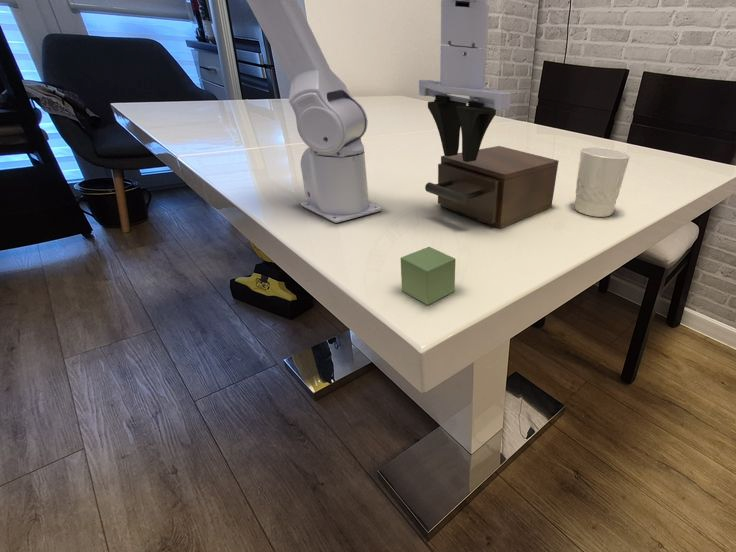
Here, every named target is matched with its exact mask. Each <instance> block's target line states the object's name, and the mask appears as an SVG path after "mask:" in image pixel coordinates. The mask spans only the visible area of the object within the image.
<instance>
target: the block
mask: <svg viewBox="0 0 736 552" xmlns="http://www.w3.org/2000/svg"><path fill="white" fill-rule="evenodd" d="M400 277H401V292H403V293H405V294H407V295H409V296H410V297H412V298H414V299H416V300H417V301H419V302H421V303H423V304H424V305H426V306H429V305H431V304H433V303H435V302H437V301H439V300H440V299H443V298H445V297H446V296H448V295H450V294H452V293H454V292H455V290H456V289H455V288H456V258H455V257H453V256H451V255H449V254H447V253H445V252H442V251H440V250H438V249H436V248H433V247H431V246H427V247H425V248H422V249H419V250H416V251H414V252H411V253H409V254H406V255H404V256H401V257H400Z"/></svg>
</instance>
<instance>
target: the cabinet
mask: <svg viewBox="0 0 736 552" xmlns="http://www.w3.org/2000/svg"><path fill="white" fill-rule="evenodd" d="M441 163H445V164H449V165H452V166H453V165H455V166H459V167H462V168H465V169H469V170H472V171H475V172H479V173H482V174H485V175H489V176H492V177H495V178H499V179H500V180H501V182H500V195H499V207H498V219H497V222H495V223H493V224H492V223H489V222H487V221H484V220H481V219H479V218H476V217H473V216H471V215H468V214H465V213H463V212H460V211H457V210H455V209H452V208H449V207H447V206H444V205H442V204H440V207H442V208H445V209H447V210H450V211H453V212H455V213H458V214H461V215H463V216H466V217H469V218H471V219H474V220H477V221H479V222H482V223H485V224H487V225H490V226H492V227H494V228H498V229H503V228H505V227H508V226H510V225H512V224H515V223H517V222H520V221H522V220H524V219H527V218H530V217H532V216H535V215H536V214H539V213H541V212H544V211H547V210H549V209H551V208H552V207H553V201H554V194H555V188H556V182H557V181H556V180H557V174H558V168H559V160H558V159H553V158H550V157H546V156H542V155H537V154H534V153H529V152H525V151H522V150H517V149H513V148H511V147H510V148H509V147H505V146H502V145H497V146H491V147H486V148H479V152H478V155H477V159H476V160H475V161H470V162H465V161H463V157H462V152H458V154H457V155H454V156H448V157H447V156H445V155H440V164H441Z"/></svg>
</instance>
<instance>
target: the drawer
mask: <svg viewBox="0 0 736 552" xmlns="http://www.w3.org/2000/svg"><path fill="white" fill-rule="evenodd" d="M500 182H501V180H500V179H499V178H495V177H492V176H489V175H485V174H482V173H479V172H475V171H472V170H469V169H465V168H462V167H459V166H455V165H453V166H452V165H449V164H445V163H441V162H440V163H438V164H437V183H433V182H430V181H429V182H427V183H426V184H425V186H424V190H425V191H426V193H429V194H432V195H435V196H437V204H439V205H441V204H442V205H444V206H447V207H449V208H452V209H455V210H457V211H460V212H463V213H465V214H468V215H471V216H473V217H476V218H479V219H481V220H484V221H487V222H489V223H492V224H493V223H495V222H497V219H498V207H499V195H500Z"/></svg>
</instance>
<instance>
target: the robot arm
mask: <svg viewBox="0 0 736 552" xmlns="http://www.w3.org/2000/svg"><path fill="white" fill-rule="evenodd" d="M246 2H247V4H248V5H249V7H250V10H251V11H252V13H253V15H254V17H255V19H256V20H257V23H258V24H259V26H260V28H261V30H262V32H263V33H264V35H265V38H266V39H267V42H268V43H269V45H270V47H271V49H272V51H273V52H274V54H275V56H276V58H277V60H278V61H279V64H280V65H281V67H282V70H283V71H284V73H285V75H286V77H287V79H288V80H289V82H290V88H289V95H288V103H289V105H290V106H291V108H292V110H293V113H294V115H295V121H296V129H297V132H298V135H299V137H300V138H301V140H302V141H303V143H304V144H305V145H306V146H307V148H306V149H305V150H304V151H303V152H302V155H301V158H300V172H301V176H302V182H303V183H302V184H303V190H304V195H305V201H302V202H300V205H301V206H302V207H303V208H305V209H307V210H309V211H311V212H313V213H315V214H317V215H319V216H321V217H323V218H325V219H327V220H328V221H331V222H333V223H342V222H345V221H348V220H352V219H356V218H359V217H364V216H367V215H370V214H374V213H378V212H381V211H382V207H381V206H379V205H376V204H375V203H372V202H369V189H368V177H367V165H366V164H367V163H366V154H365V152H366V151H365V146H364V144H363V142H362V137H364V135H365V134H366V132H367V129H368V123H369V122H368V115H367V113H366V111H365V109H364V108H363V106H362V104H361V103H359V102H358V101H357V100H356V99H355V98H354V97H353V96H352V95H351V93H350V91H349V89H348V88H347V85H346V84H345V82H344V81H342V79H341V78H340V77H339V76H337V74H336V73H335V72H334V71H333V70H332V69H331V67H330V65H329V63H328V62H327V59H326V57H325V55H324V53H323V51H322V48H321V47H320V45H319V43H318V41H317V38H316V36H315V34H314V32H313V31H312V28H311V26H310V24H309V22H308V20H307V18H306V16H305V14H304V12H303V10H302V8H301V6H300V4H299V1H298V0H246ZM489 6H490V5H489V3H488V0H440V60H439V61H440V62H439V63H440V65H439V66H440V67H439V68H440V69H439V70H440V71H439V72H440V73H439V74H440V76H439V77H440V78H439V79H440V80H432V79H418V94H419V96H422V97H432V98H434V99H433V101H428V102H427V109H428V111H429V112H430V114H431V116H432V118H433V121H434V123H435V125H436V128H437V131H438V134H439V138H440V142H441V147H442V151H443V156H447V157H448V156H454V155H457V154H458V153H459V150H460V136H461V153H462V157H463V161H465V162H470V161H475V160H476V159H477V155H478V152H479V149H481V144H482V142H483V140H484V137H485V134H486V132H487V130H488V129H489V127H490V124H491V123H492V122H493V119H494V118H495V116H496V115H497V111H509V110H510V109H511V101H512V99H511V98H512V93H511V92H507V91H502V90H498V89H493V88H489V87H487V86H485V85H486V84H485V81H486V67H487V66H486V65H487V49H488V32H489V31H488V30H489V12H490V10H489V9H490V7H489ZM462 96H465V97H462Z"/></svg>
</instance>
